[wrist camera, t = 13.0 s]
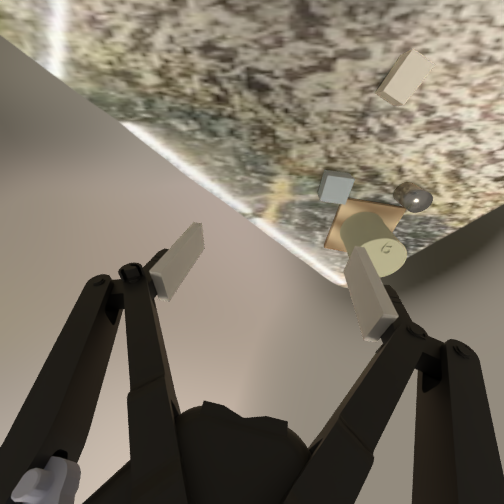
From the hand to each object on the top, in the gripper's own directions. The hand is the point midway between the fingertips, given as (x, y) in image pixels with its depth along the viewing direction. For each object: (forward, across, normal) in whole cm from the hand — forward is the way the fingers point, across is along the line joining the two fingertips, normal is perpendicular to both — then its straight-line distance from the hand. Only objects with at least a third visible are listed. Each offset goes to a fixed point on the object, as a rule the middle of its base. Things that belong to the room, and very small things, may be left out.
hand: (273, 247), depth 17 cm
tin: (+31, +25, -2) cm, 40 cm away
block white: (+31, +15, +14) cm, 38 cm away
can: (+30, +19, -12) cm, 37 cm away
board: (+31, +19, -12) cm, 38 cm away
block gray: (+31, +10, -2) cm, 33 cm away
